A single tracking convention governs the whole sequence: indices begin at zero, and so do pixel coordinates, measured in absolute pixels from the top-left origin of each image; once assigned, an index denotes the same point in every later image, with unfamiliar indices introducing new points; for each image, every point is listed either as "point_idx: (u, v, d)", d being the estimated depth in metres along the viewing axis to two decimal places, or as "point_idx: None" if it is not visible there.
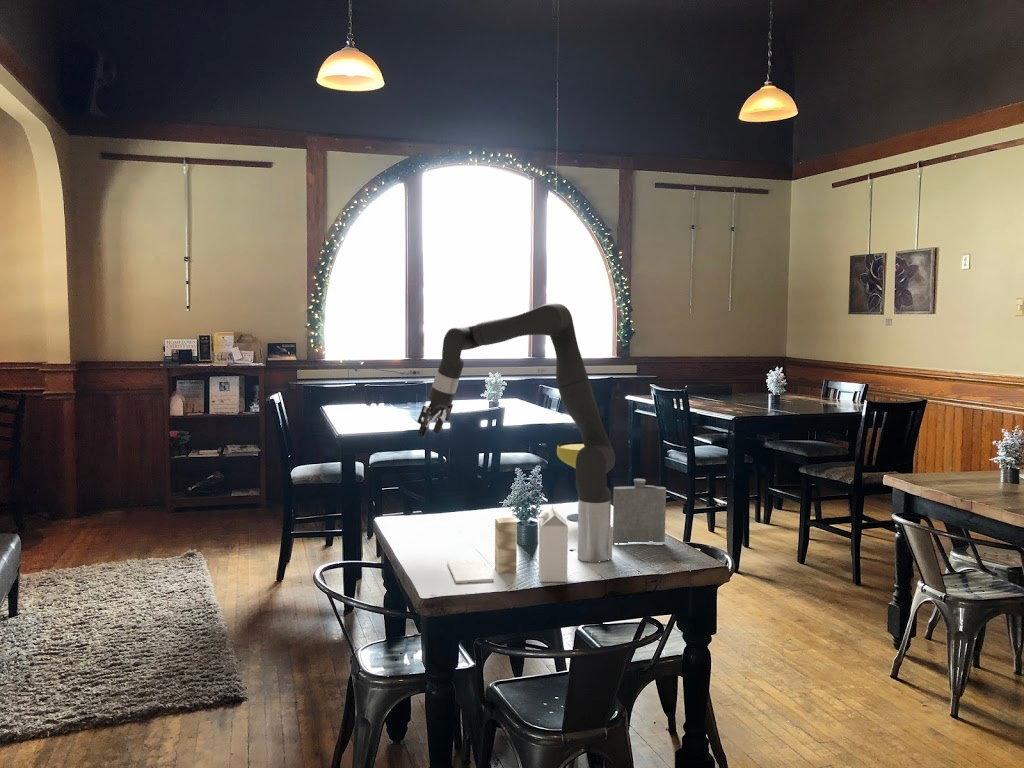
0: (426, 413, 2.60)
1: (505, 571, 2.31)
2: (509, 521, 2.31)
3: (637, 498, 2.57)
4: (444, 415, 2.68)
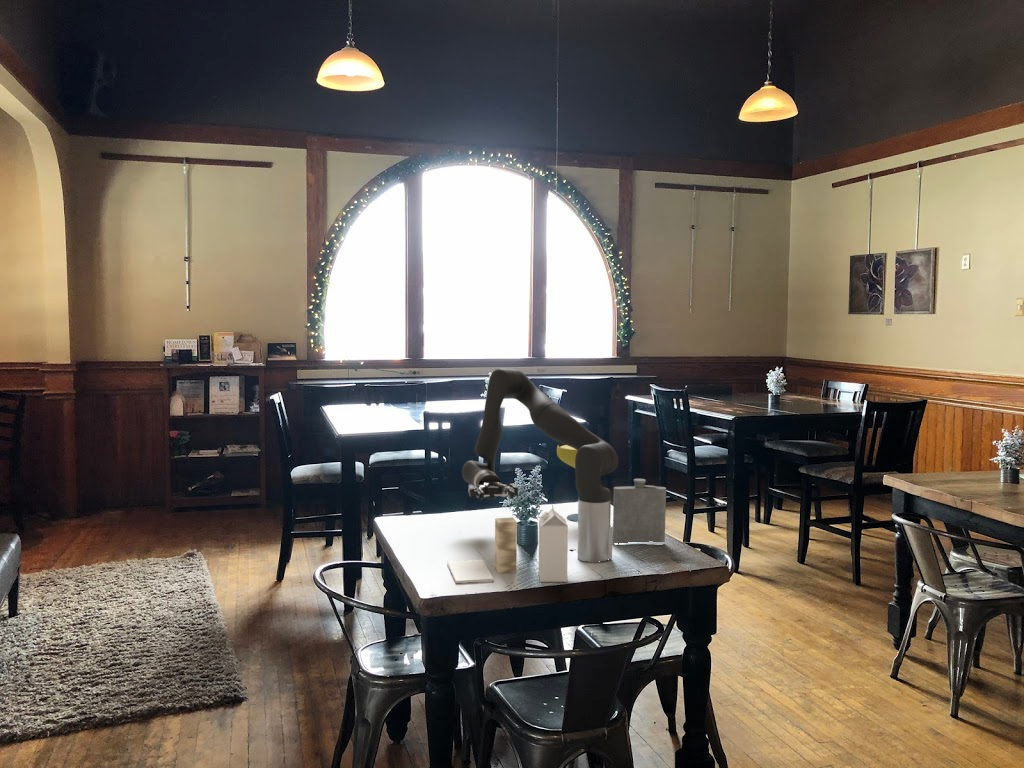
0: (469, 487, 2.50)
1: (505, 571, 2.31)
2: (509, 521, 2.31)
3: (637, 498, 2.57)
4: (502, 484, 2.51)
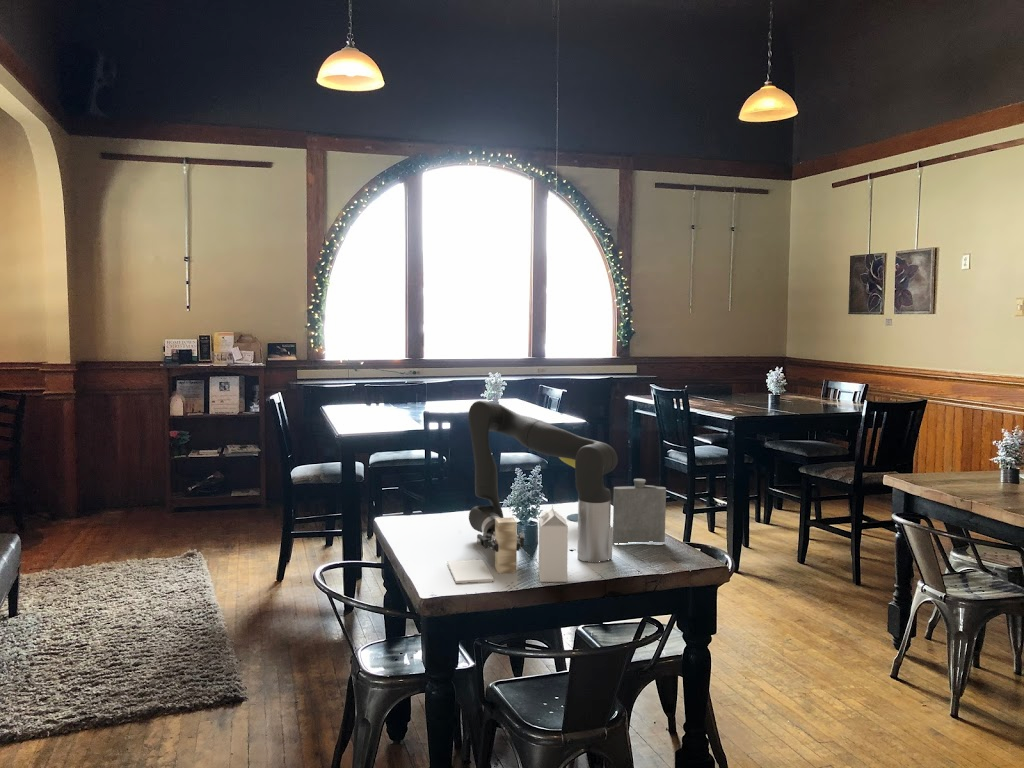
0: (479, 537, 2.37)
1: (505, 571, 2.31)
2: (509, 521, 2.31)
3: (637, 498, 2.57)
4: None
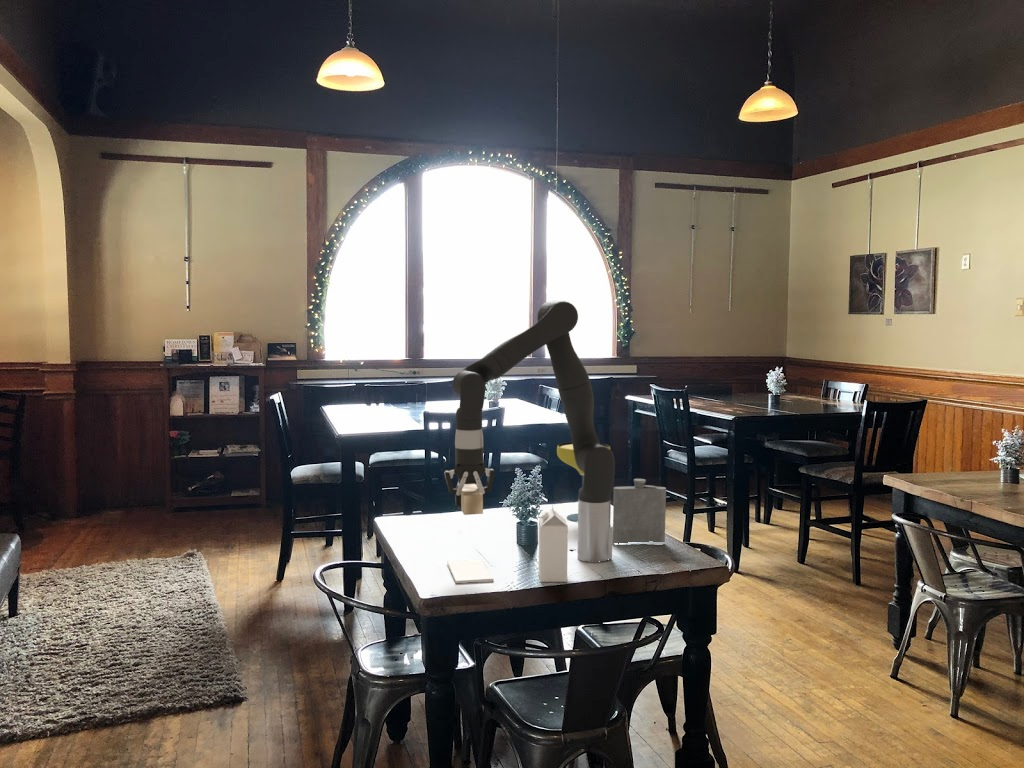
0: (446, 479, 2.27)
1: None
2: (476, 510, 2.23)
3: (637, 498, 2.57)
4: (478, 481, 2.28)
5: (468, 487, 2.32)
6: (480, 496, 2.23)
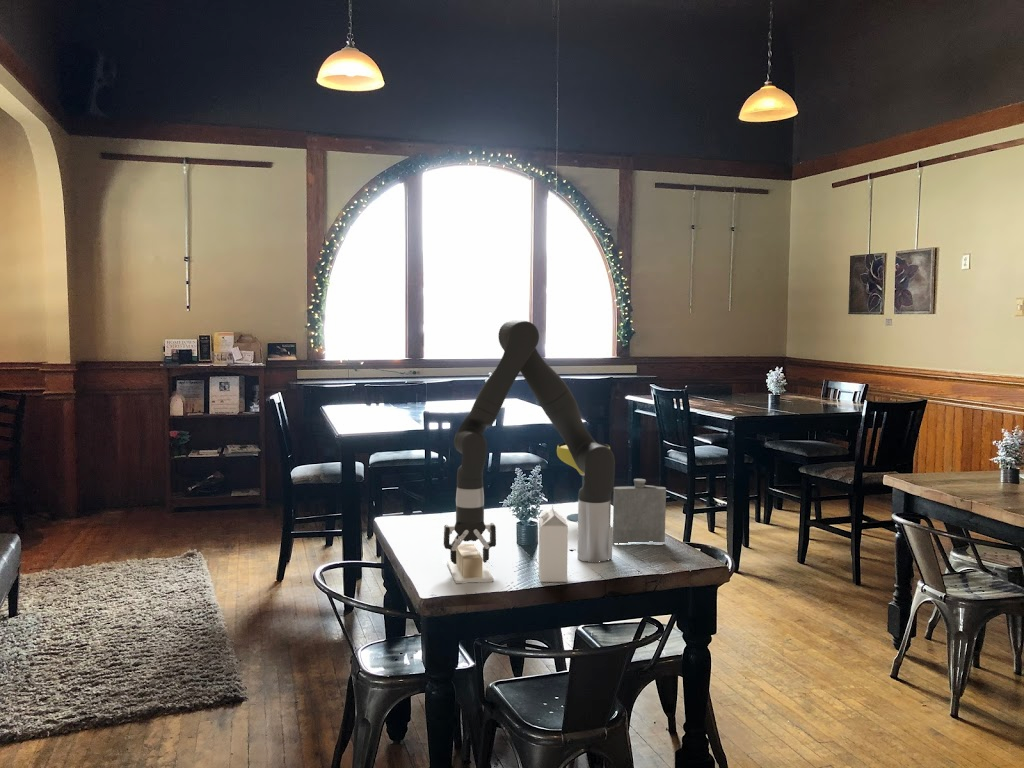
0: (445, 533, 2.28)
1: None
2: (475, 574, 2.24)
3: (637, 498, 2.57)
4: (480, 537, 2.29)
5: (467, 548, 2.33)
6: (480, 560, 2.24)
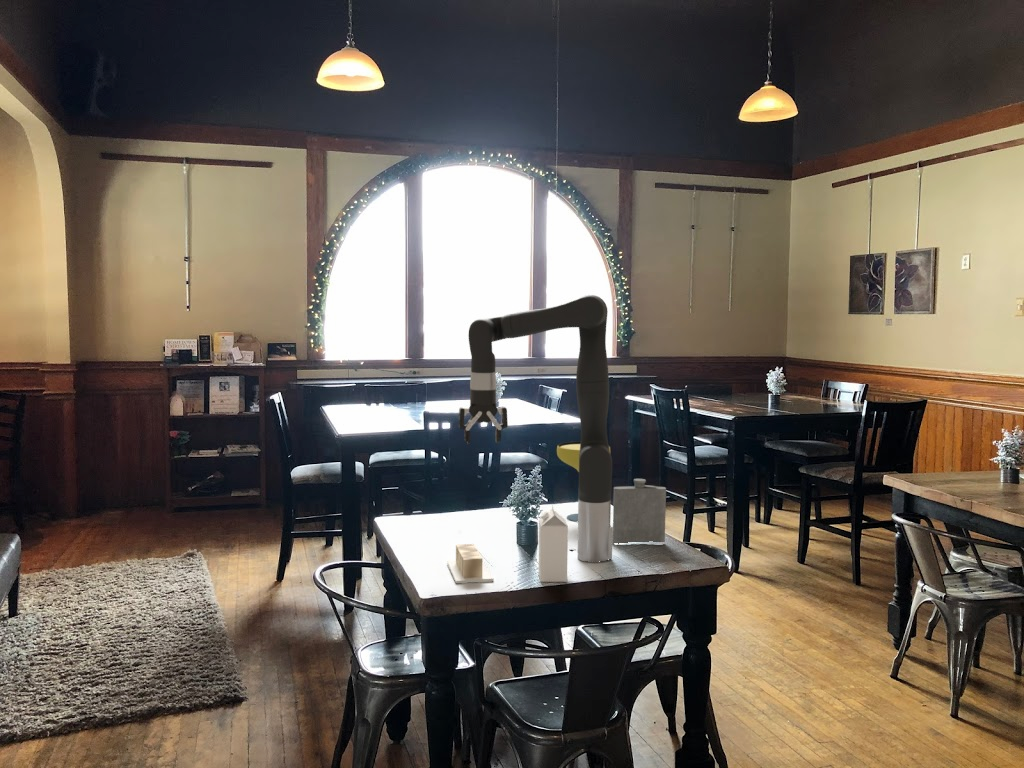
0: (460, 414, 2.46)
1: None
2: (475, 574, 2.24)
3: (637, 498, 2.57)
4: (493, 419, 2.48)
5: (467, 548, 2.33)
6: (480, 560, 2.24)
